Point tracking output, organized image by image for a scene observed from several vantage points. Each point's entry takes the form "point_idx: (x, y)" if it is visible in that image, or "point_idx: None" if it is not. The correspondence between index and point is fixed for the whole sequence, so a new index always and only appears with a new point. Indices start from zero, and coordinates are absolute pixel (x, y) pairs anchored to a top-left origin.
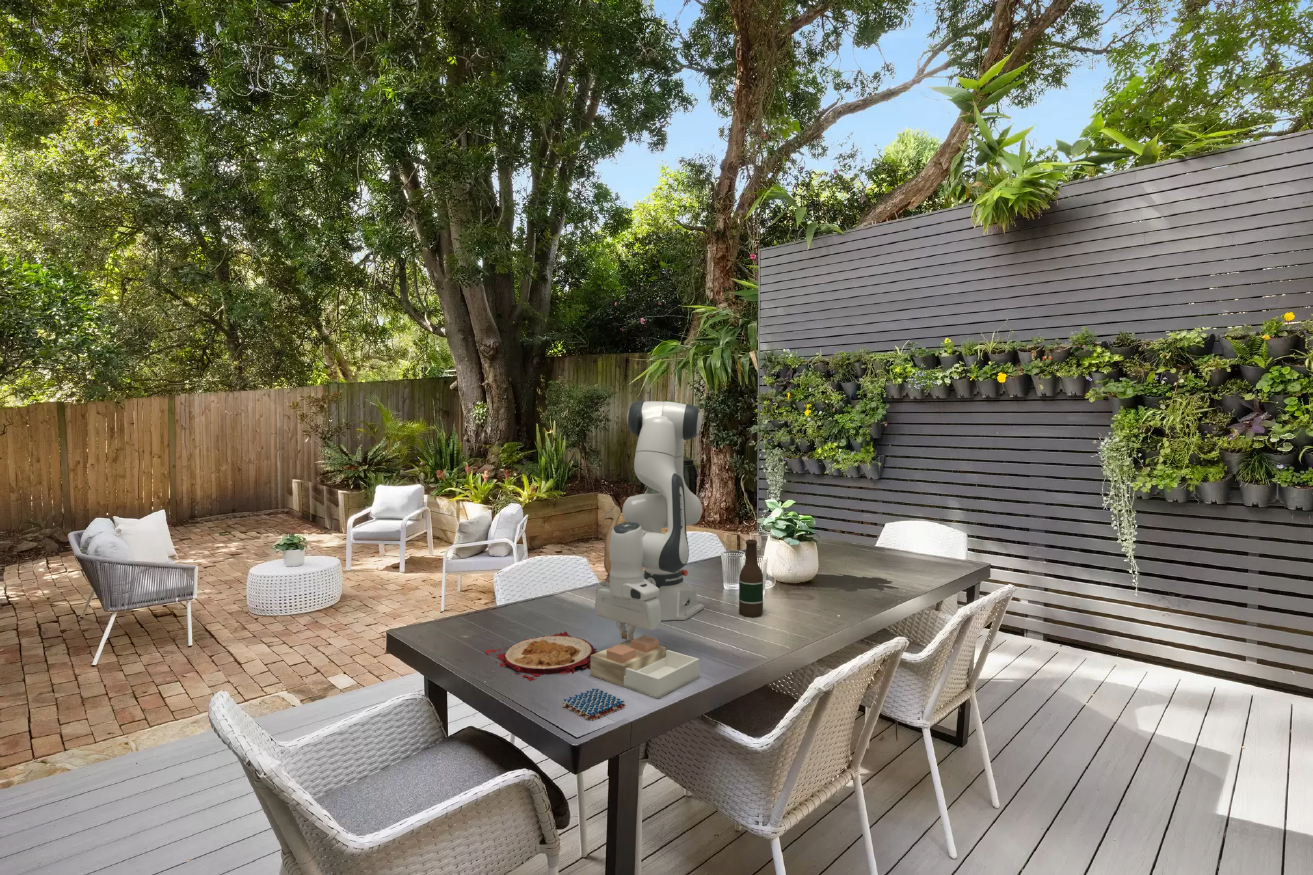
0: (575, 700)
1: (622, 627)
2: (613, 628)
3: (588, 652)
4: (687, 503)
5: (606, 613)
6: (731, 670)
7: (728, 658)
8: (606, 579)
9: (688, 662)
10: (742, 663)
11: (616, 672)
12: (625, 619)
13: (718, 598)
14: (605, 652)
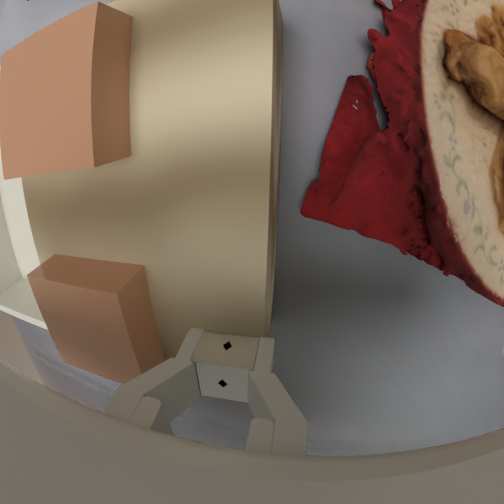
0: None
1: (260, 411)
2: (449, 426)
3: (456, 208)
4: None
5: (447, 488)
6: (33, 340)
7: (83, 391)
8: None
9: (16, 296)
10: (54, 375)
11: None
12: (115, 455)
13: None
14: (217, 77)
